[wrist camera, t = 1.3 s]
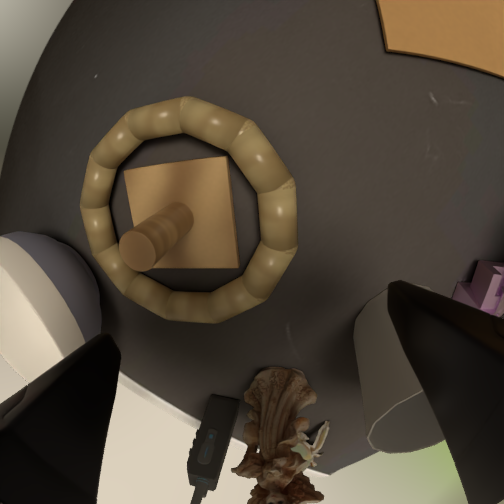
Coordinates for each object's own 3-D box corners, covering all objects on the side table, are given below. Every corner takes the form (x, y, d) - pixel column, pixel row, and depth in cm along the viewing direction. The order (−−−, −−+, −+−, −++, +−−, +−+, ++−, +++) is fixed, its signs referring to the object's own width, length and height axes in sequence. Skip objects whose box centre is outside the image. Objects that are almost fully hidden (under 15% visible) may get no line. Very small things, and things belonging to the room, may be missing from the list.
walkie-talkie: (209, 391, 28) (149, 556, 10) (240, 398, 28) (191, 569, 10) (209, 413, 30) (158, 557, 12) (236, 419, 30) (194, 568, 12)
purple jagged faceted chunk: (465, 256, 18) (503, 295, 13) (516, 262, 17) (552, 296, 12) (436, 336, 21) (457, 383, 16) (486, 334, 20) (510, 374, 15)
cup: (421, 263, 19) (479, 352, 10) (453, 326, 21) (495, 408, 12) (334, 323, 22) (342, 428, 13) (379, 373, 24) (394, 462, 15)
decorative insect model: (357, 442, 28) (349, 475, 24) (296, 454, 34) (285, 481, 30) (315, 409, 28) (302, 445, 24) (255, 425, 34) (239, 453, 30)
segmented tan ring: (288, 86, 16) (286, 80, 14) (299, 313, 22) (298, 332, 20) (80, 128, 19) (61, 131, 17) (121, 305, 25) (108, 319, 23)
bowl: (75, 180, 21) (-12, 215, 12) (157, 331, 26) (109, 405, 17) (9, 240, 26) (-46, 275, 17) (71, 347, 31) (31, 394, 22)
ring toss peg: (228, 155, 18) (193, 168, 12) (240, 265, 21) (217, 318, 16) (127, 169, 20) (69, 189, 14) (146, 265, 23) (103, 308, 17)
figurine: (318, 358, 24) (313, 520, 10) (325, 397, 26) (321, 533, 13) (240, 366, 26) (198, 512, 12) (256, 403, 28) (228, 529, 14)
